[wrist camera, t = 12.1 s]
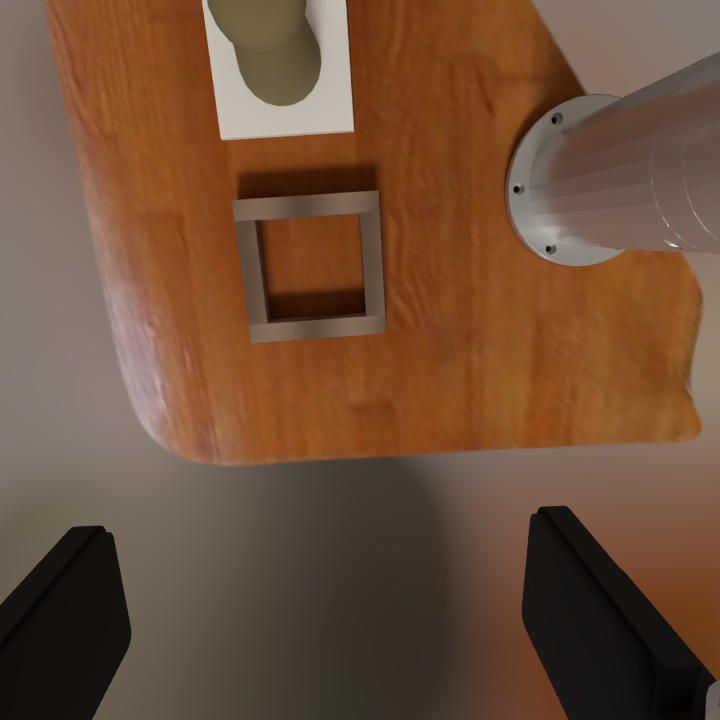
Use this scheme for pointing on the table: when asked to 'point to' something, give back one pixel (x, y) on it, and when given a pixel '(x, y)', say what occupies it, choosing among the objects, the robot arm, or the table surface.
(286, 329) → the holder
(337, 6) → the coaster
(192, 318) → the table surface
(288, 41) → the cork
